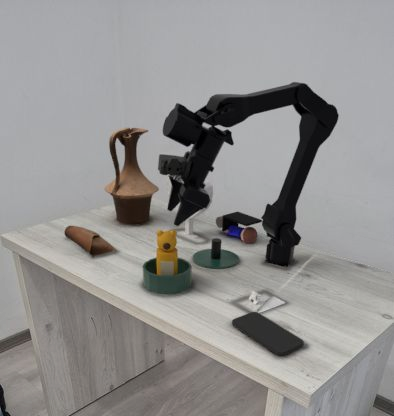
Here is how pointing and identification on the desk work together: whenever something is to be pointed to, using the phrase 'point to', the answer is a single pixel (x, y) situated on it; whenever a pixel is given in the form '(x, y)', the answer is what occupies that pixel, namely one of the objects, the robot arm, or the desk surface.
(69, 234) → the sunglasses case
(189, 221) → the heart sculpture
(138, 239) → the desk surface
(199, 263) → the pot lid
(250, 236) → the figurine character
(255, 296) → the adhesive hook
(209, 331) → the desk surface
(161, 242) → the toy
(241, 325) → the phone
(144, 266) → the pot
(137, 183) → the pitcher
